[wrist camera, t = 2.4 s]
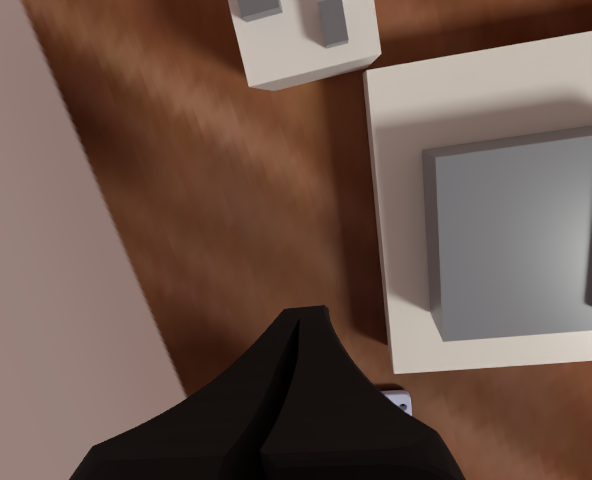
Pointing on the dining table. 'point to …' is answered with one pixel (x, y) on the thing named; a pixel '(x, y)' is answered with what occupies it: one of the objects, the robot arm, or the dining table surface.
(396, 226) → the socket plate
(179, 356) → the dining table surface
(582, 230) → the grey slab with nub
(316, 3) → the plug
